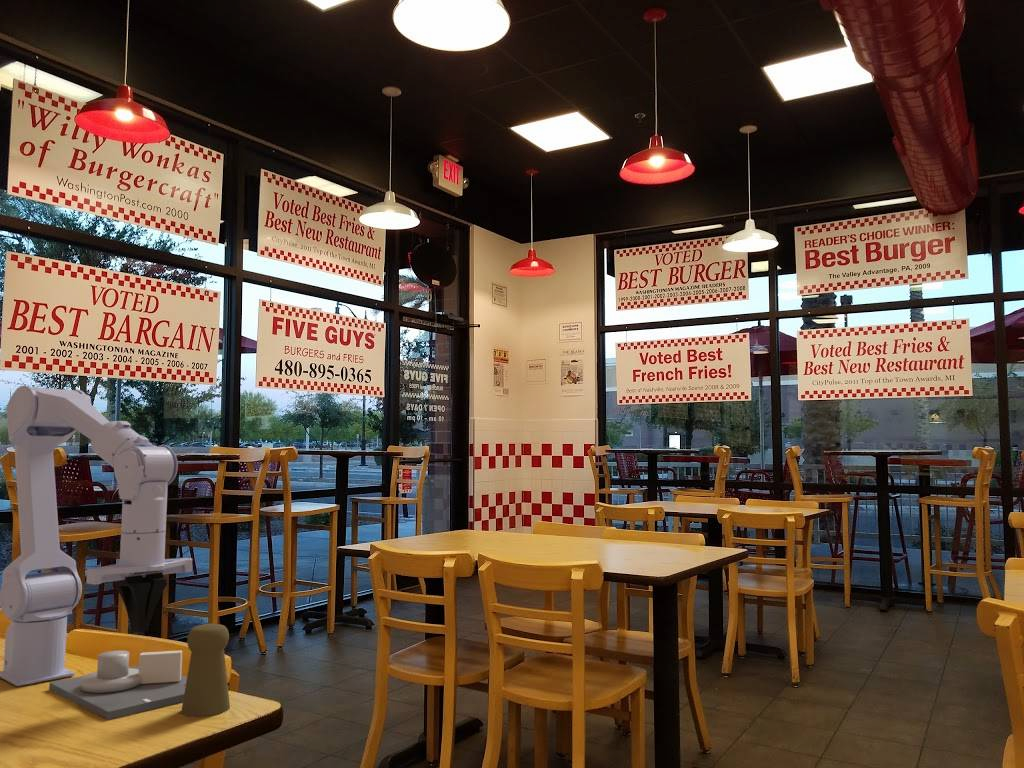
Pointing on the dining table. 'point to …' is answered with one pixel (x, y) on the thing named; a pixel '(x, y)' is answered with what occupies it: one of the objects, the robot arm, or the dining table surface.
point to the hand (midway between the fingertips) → (139, 630)
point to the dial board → (122, 696)
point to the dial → (132, 671)
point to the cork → (206, 672)
